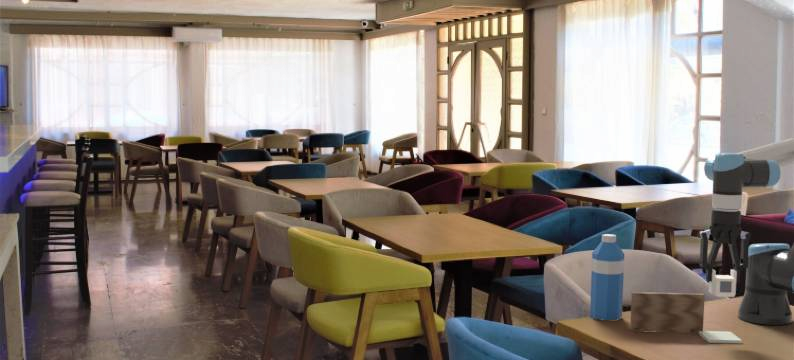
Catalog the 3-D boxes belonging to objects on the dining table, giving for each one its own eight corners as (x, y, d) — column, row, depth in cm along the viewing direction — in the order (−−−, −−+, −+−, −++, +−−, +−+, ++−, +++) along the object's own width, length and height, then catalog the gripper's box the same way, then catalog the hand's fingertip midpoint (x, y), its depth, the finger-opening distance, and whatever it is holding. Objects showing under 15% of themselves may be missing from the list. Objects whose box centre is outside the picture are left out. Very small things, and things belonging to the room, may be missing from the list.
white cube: (728, 292, 243) (728, 275, 243) (734, 297, 238) (735, 279, 238) (709, 292, 243) (710, 274, 243) (716, 296, 238) (716, 278, 238)
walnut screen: (699, 330, 250) (701, 292, 249) (704, 334, 246) (706, 295, 245) (629, 328, 251) (630, 291, 250) (632, 332, 247) (634, 294, 246)
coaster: (730, 334, 246) (730, 331, 246) (741, 343, 237) (742, 340, 237) (698, 333, 247) (698, 330, 247) (708, 342, 238) (708, 339, 238)
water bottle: (622, 322, 258) (626, 238, 256) (590, 319, 260) (593, 236, 258) (621, 314, 267) (624, 233, 265) (589, 312, 269) (592, 232, 267)
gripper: (754, 208, 242) (750, 291, 244) (688, 207, 243) (684, 289, 245) (765, 211, 235) (760, 297, 237) (697, 210, 235) (693, 295, 237)
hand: (722, 293), depth 241 cm, fingers closed on white cube, 5 cm apart
